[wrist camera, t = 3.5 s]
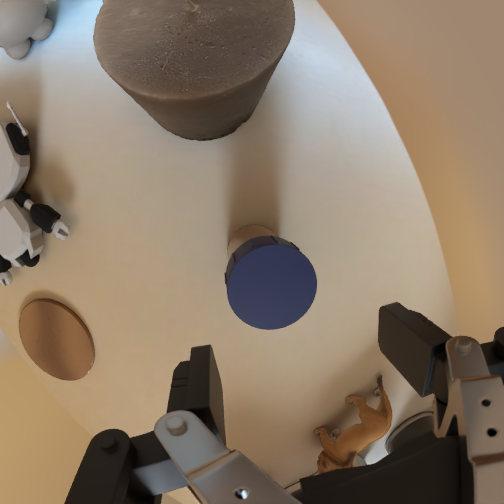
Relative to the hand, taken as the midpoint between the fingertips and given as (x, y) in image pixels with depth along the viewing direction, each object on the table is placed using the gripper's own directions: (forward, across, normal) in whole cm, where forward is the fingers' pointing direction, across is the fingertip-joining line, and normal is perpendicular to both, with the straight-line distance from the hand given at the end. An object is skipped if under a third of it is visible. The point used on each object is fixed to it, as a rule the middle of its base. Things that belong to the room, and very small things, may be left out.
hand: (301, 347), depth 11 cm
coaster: (+16, +23, +6) cm, 29 cm away
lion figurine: (+17, -8, +24) cm, 30 cm away
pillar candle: (+17, +2, -15) cm, 22 cm away
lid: (+7, 0, 0) cm, 7 cm away
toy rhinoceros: (+17, +17, -29) cm, 37 cm away
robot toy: (+17, +23, -10) cm, 30 cm away
